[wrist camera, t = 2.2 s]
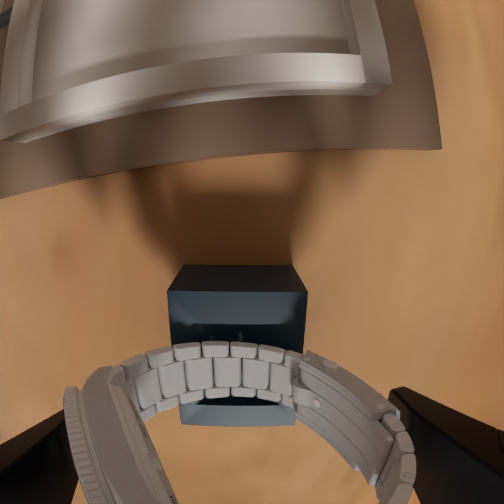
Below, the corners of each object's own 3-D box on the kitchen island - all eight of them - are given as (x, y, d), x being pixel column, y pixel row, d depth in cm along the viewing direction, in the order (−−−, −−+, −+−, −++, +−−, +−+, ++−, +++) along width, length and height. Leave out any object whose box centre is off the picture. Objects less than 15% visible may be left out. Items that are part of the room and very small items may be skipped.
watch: (137, 264, 13) (-58, 458, 2) (335, 265, 13) (526, 470, 2) (150, 379, 14) (73, 590, 3) (322, 380, 14) (399, 594, 4)
